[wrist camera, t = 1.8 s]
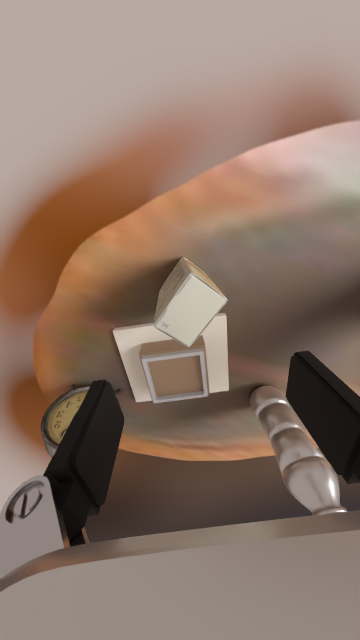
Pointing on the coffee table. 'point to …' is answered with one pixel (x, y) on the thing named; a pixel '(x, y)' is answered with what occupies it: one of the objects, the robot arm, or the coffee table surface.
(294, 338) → the coffee table surface
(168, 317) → the skincare box
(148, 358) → the display base
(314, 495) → the plastic bottle
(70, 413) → the alarm clock
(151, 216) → the coffee table surface
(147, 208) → the coffee table surface
